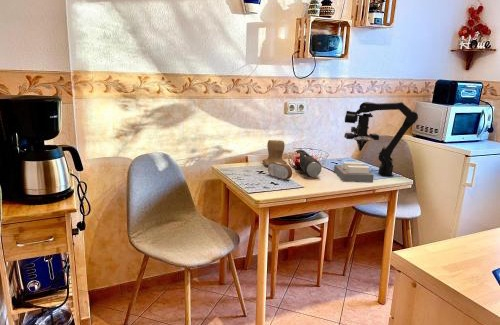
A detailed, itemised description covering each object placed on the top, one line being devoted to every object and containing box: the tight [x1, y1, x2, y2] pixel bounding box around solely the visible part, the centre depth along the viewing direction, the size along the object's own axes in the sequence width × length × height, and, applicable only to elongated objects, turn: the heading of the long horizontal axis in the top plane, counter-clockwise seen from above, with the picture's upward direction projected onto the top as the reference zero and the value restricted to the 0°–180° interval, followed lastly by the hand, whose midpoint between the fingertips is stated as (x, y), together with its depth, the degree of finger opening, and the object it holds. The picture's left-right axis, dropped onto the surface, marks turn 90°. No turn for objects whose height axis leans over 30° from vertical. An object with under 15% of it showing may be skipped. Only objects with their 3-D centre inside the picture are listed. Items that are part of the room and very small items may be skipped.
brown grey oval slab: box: [267, 161, 293, 181], centre depth 199 cm, size 15×3×8 cm, turn 47°
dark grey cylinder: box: [294, 149, 322, 178], centre depth 212 cm, size 10×28×10 cm, turn 8°
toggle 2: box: [347, 165, 370, 173], centre depth 200 cm, size 11×3×3 cm, turn 93°
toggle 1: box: [342, 161, 365, 169], centre depth 208 cm, size 11×3×3 cm, turn 93°
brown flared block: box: [262, 139, 287, 166], centre depth 225 cm, size 15×12×15 cm
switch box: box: [333, 164, 375, 183], centre depth 208 cm, size 16×19×4 cm
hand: (359, 150), depth 218 cm, fingers closed
